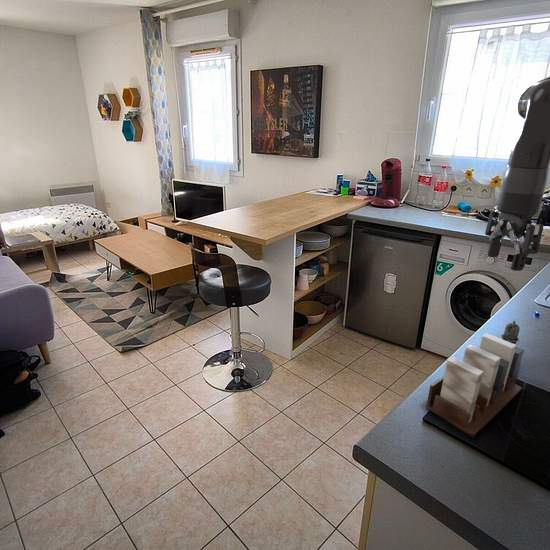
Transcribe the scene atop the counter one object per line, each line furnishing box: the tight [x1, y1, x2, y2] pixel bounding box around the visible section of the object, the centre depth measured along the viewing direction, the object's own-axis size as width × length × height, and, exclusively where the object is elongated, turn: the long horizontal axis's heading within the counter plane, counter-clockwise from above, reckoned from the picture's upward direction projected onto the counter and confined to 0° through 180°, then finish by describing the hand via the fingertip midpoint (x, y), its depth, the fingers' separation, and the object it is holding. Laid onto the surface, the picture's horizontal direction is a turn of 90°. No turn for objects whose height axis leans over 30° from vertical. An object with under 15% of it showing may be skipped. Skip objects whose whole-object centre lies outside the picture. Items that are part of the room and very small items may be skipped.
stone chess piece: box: [500, 320, 521, 345], centre depth 88 cm, size 6×6×12 cm
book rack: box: [425, 344, 525, 438], centre depth 76 cm, size 10×22×13 cm, turn 127°
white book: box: [479, 332, 518, 392], centre depth 79 cm, size 6×2×12 cm, turn 37°
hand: (503, 262), depth 81 cm, fingers open, 8 cm apart
